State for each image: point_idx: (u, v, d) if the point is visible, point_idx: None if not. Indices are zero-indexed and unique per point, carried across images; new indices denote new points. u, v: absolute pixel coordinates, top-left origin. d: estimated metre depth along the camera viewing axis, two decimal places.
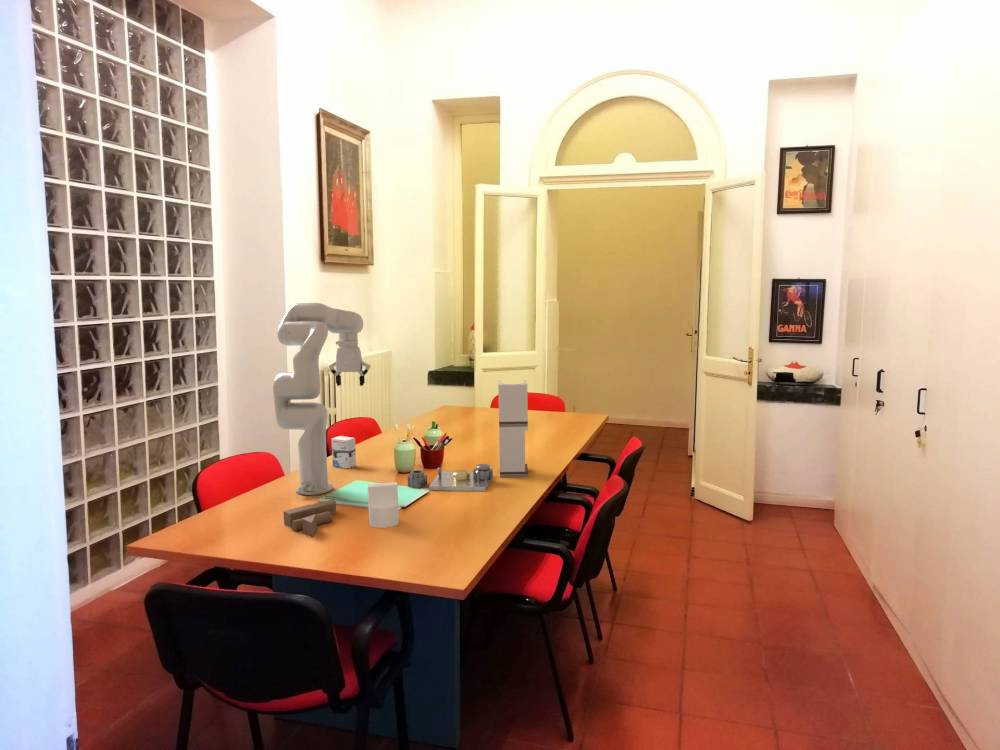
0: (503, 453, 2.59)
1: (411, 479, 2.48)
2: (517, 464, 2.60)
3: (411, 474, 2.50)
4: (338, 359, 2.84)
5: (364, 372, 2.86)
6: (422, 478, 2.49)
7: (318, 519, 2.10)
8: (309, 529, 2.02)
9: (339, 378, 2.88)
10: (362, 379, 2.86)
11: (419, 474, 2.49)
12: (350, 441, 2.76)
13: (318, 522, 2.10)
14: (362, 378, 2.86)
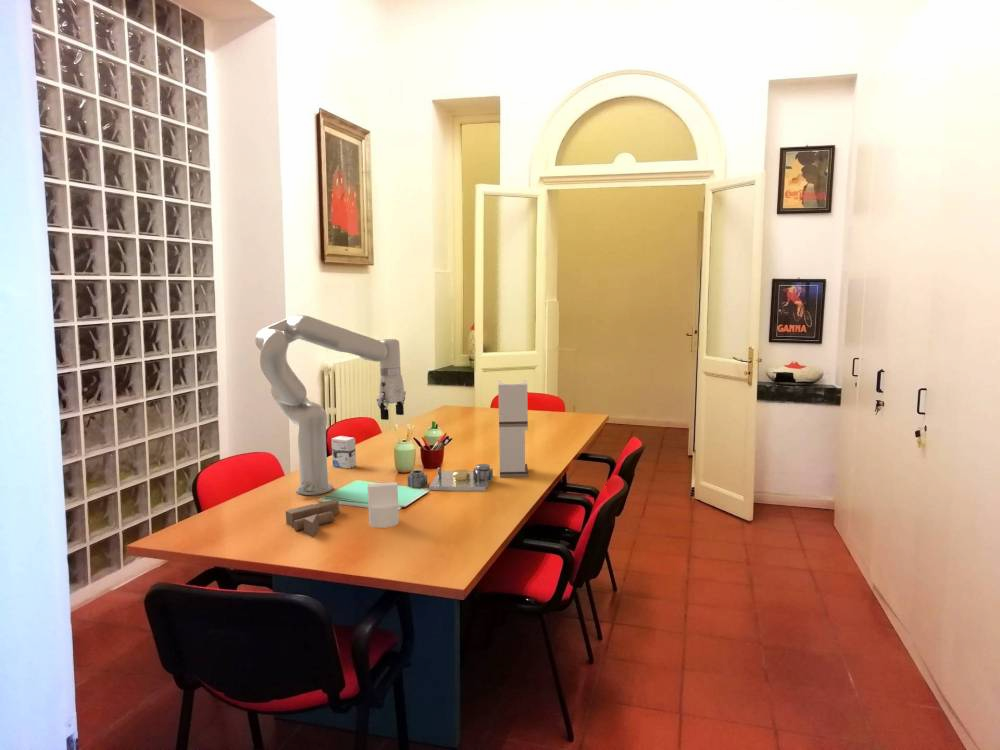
0: (503, 453, 2.59)
1: (411, 479, 2.48)
2: (517, 464, 2.60)
3: (411, 474, 2.50)
4: (391, 389, 2.57)
5: (403, 400, 2.67)
6: (422, 478, 2.49)
7: (320, 519, 2.10)
8: (310, 529, 2.02)
9: None
10: None
11: (419, 474, 2.49)
12: (350, 441, 2.76)
13: (320, 522, 2.10)
14: None
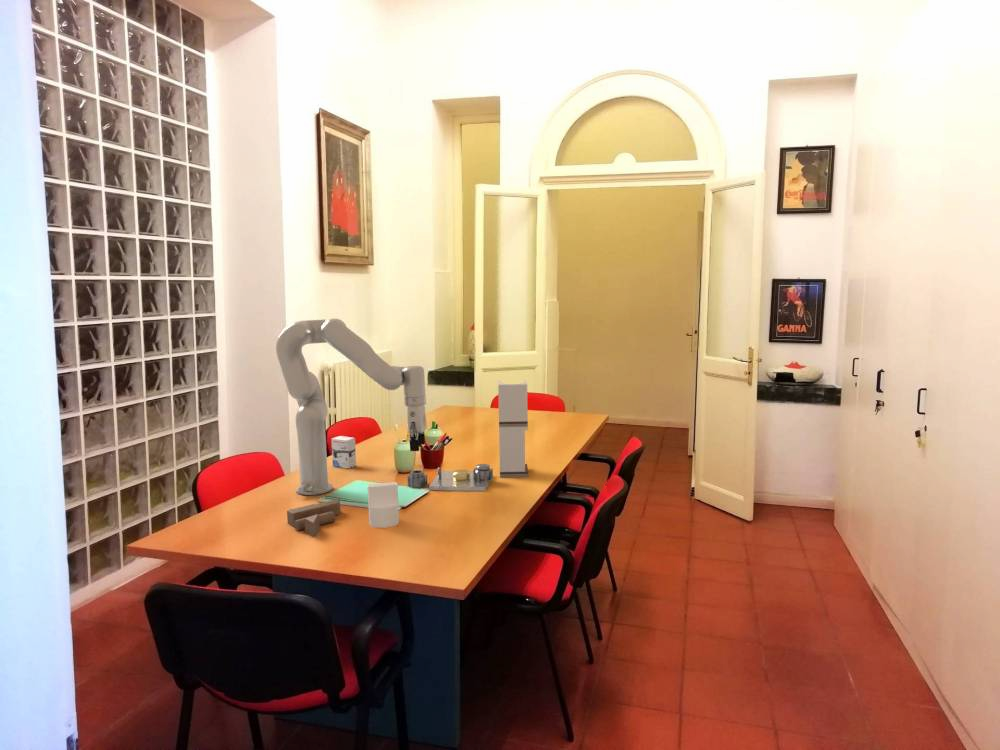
0: (503, 453, 2.59)
1: (411, 479, 2.48)
2: (517, 464, 2.60)
3: (411, 474, 2.50)
4: (421, 419, 2.45)
5: None
6: (422, 478, 2.49)
7: (321, 519, 2.10)
8: (310, 529, 2.02)
9: None
10: None
11: (419, 474, 2.49)
12: (350, 441, 2.76)
13: (321, 522, 2.10)
14: None
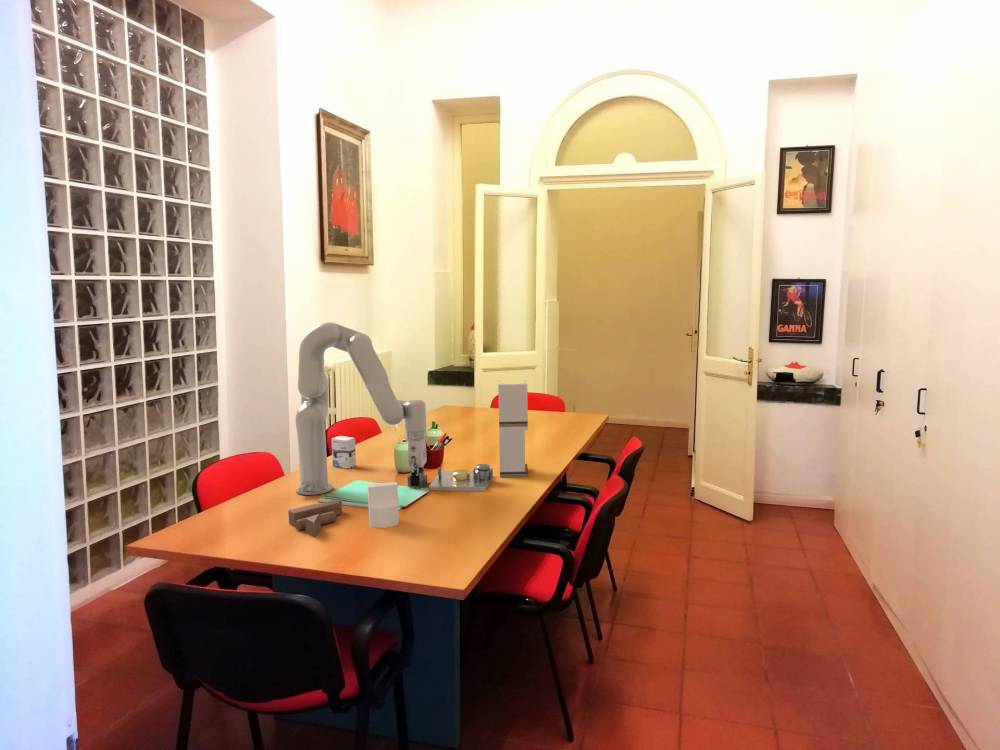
0: (503, 453, 2.59)
1: None
2: (517, 464, 2.60)
3: None
4: (421, 453, 2.46)
5: None
6: (422, 478, 2.49)
7: (322, 519, 2.10)
8: (311, 529, 2.02)
9: None
10: None
11: (419, 474, 2.49)
12: (350, 441, 2.76)
13: (322, 522, 2.10)
14: None
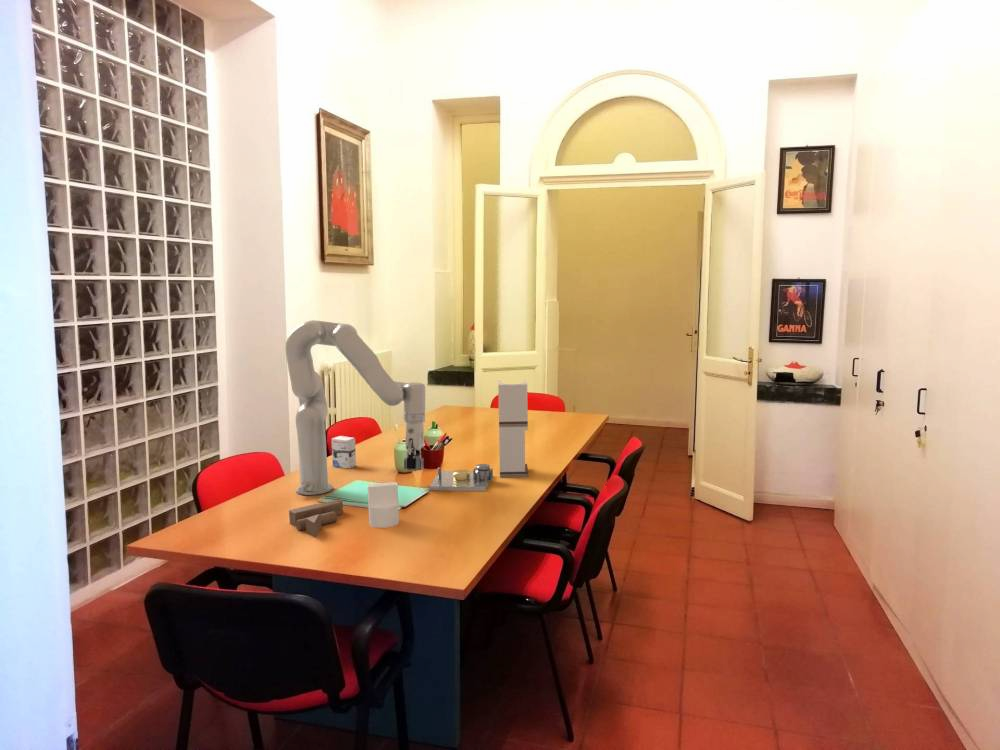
0: (503, 453, 2.59)
1: None
2: (517, 464, 2.60)
3: None
4: (419, 436, 2.45)
5: None
6: (419, 461, 2.48)
7: (322, 519, 2.10)
8: (311, 529, 2.02)
9: None
10: None
11: (416, 457, 2.48)
12: (350, 441, 2.76)
13: (322, 522, 2.10)
14: None
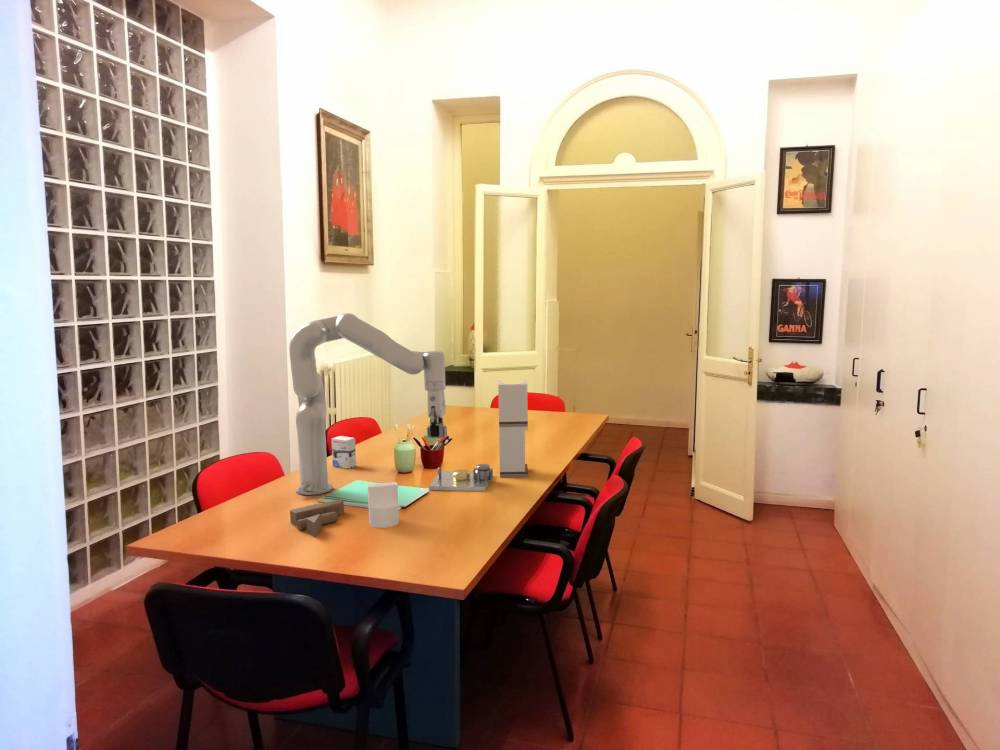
0: (503, 453, 2.59)
1: None
2: (517, 464, 2.60)
3: None
4: (441, 403, 2.47)
5: None
6: (442, 429, 2.50)
7: (323, 519, 2.10)
8: (312, 529, 2.02)
9: None
10: None
11: (439, 425, 2.50)
12: (350, 441, 2.76)
13: (323, 522, 2.10)
14: None
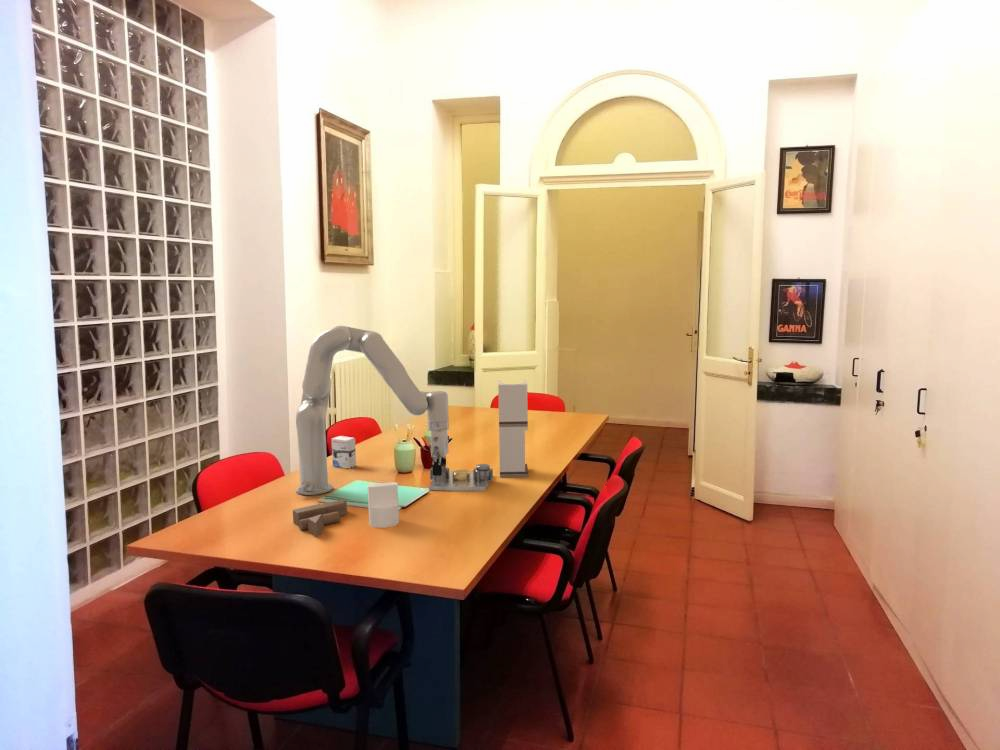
0: (503, 453, 2.59)
1: None
2: (517, 464, 2.60)
3: None
4: (444, 443, 2.49)
5: None
6: (444, 471, 2.52)
7: (325, 519, 2.10)
8: (313, 529, 2.02)
9: None
10: None
11: None
12: (350, 441, 2.76)
13: (325, 522, 2.10)
14: None
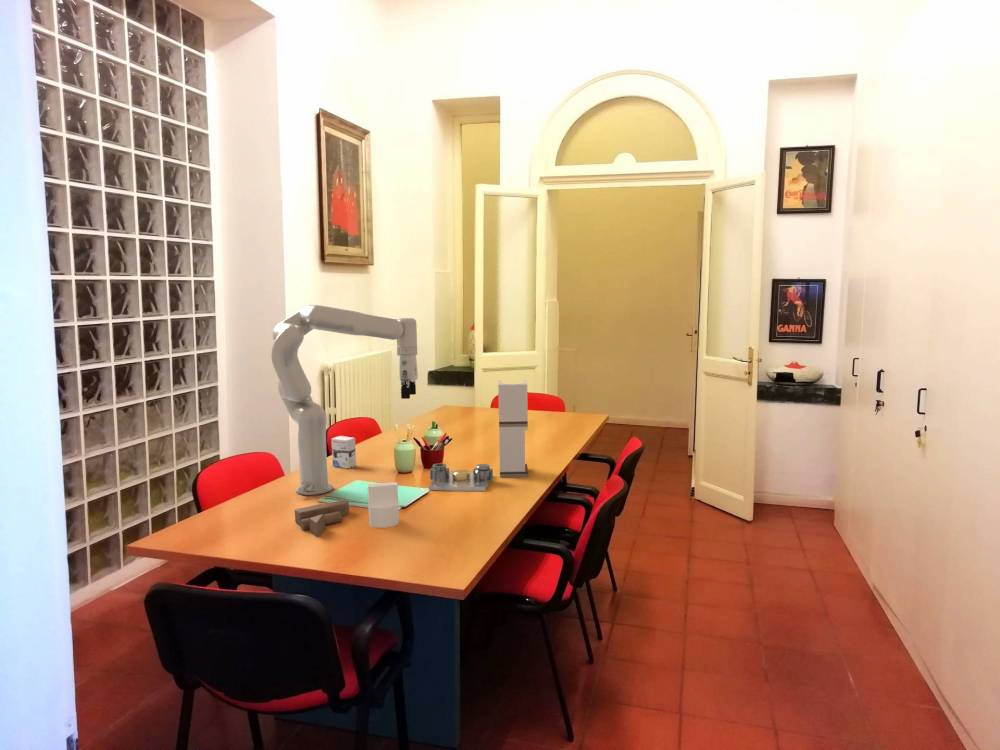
0: (503, 453, 2.59)
1: (434, 472, 2.51)
2: (517, 464, 2.60)
3: (433, 467, 2.53)
4: (412, 368, 2.57)
5: None
6: (444, 471, 2.52)
7: (327, 519, 2.10)
8: (314, 529, 2.02)
9: None
10: None
11: (441, 467, 2.52)
12: (350, 441, 2.76)
13: (327, 522, 2.10)
14: None
